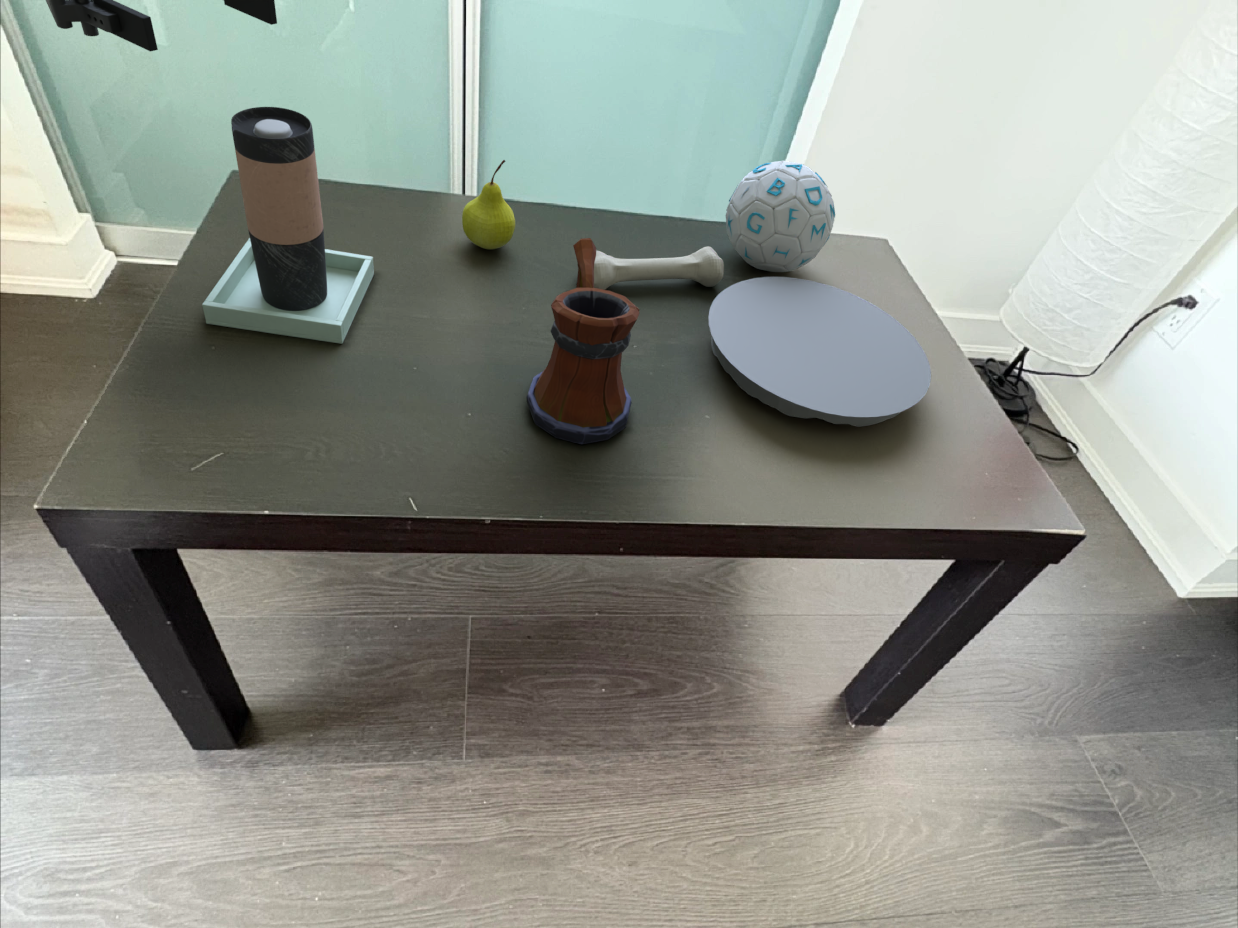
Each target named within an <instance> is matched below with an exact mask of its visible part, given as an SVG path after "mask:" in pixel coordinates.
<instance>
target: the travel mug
mask: <svg viewBox="0 0 1238 928" xmlns="http://www.w3.org/2000/svg"><path fill="white" fill-rule="evenodd" d="M230 119H231V120H230V123H231V134H232V139H233V140H232V141H233V146H234V152H235V158H236V163H237V164H236V165H237V170H238V175H239V182H240V189H241V194H242V201H243V207H244V212H245V213H244V214H245V218H246V226H247V231H248V235H249V238H250V241H251V245H252V250H253V255H254V260H255V264H256V269H257V274H258V279H259V283H260V288H261V292H262V295H263V298H264V300H265V301H266V302H267V303H268V304H269V305H271V306H273V307H275V308H278V309H282V310H287V311H302V310H307V309H311V308H314V307H316V306H318V305H320V304H321V303H322V302H323V301H324V300H325V299H326V296H327V275H326V259H325V249H326V245H325V230H324V219H323V211H322V203H321V193H320V192H321V191H320V183H319V173H318V166H317V159H316V157H317V155H316V148H315V140H314V130H313V125H312V121H311V120H310V119H309V118H308V117H307V116H306V115H304V114H302V113H300V112H299V111H296V110H293V109H289V108H284V107H277V106H256V107H250V108H246V109H243V110H240V111H238V112H236V113H235V114H233V116H232V117H231V118H230Z"/></svg>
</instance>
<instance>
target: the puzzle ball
mask: <svg viewBox="0 0 1238 928" xmlns="http://www.w3.org/2000/svg"><path fill="white" fill-rule="evenodd" d="M834 203H835V201H834V199H833V195H832V193H831V192H830V190H829V187H828V185H827V184H826V181H824V179H823V178H822V177H821V176H820V175H819V174H818V173H817V172H816V171H814V170H812V168H810V167H809V166H807V165H805V164H804V163H799V162H794V161H788V160H777V161H771V162H765V163H763V164H760V165H758V166H757V167H755V168H754V169H752V170H751V171H750V172H748V173H747V174H746V175H745V176H743V178H742V179H741V180H740V181H739V182H738V184H737V186H736V188H735V189H734V190H733V193H732V194H731V196H730V197H729V199H728V204H727V206H726V212H725V227H726V233H727V234H726V235H727V237H728V240H729V242H730V244H731V245H732V248H733V250H735V251H736V253H737V254H738V255H739V256H740V257H741V258H742V259H743V261H744V262H745V263H746V264H748V265H749V266H751V267H754V269H757V270H761V271H767V272H770V273H786V272H787V273H788V272H792V271H794V270H798V269H800V268H801V267H803V266H805V265H807V264H809V263H810V262H812V260H814V259H815V258H816V257H817V255H818V254H819V253H820V252H821V250H823V247H824V246H825V245H826V244H827V242H828V241H829V239H830V236H831V233H832V231H833V228H834V223H835V218H836V210H835V204H834Z"/></svg>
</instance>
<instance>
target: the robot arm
mask: <svg viewBox="0 0 1238 928" xmlns="http://www.w3.org/2000/svg"><path fill="white" fill-rule="evenodd" d="M45 2H46V4H47V7H48V10H49V11H50V13H51V16H52V17H53V20H54V22H55V25H56V26H57V27H58V28H59V29H62V30H63V29H64V30H69V29H72V28H74V24H73V23H80V25H81V29H82V32H83V35H84V36H86V37H98V36H99V35H100V32H99V30H101V31H104V32H106V33H109V34H112V35H114V36H116V37H119V38H120V39H123V40H124V41H127V42H129V43H130V44H131V43H132V44H133V45H135V46H138V47H139V48H141V49H144V50H146V51H148V52H155V51H158V43H157V40H156V36H155V30H154V27H153V22H152V18H151V16H150V15H147V14H145V13H142V12H140V11H138V10H136V9H133V8H132V7H129V6H127V5H125V4H123V3H120V2H118V1H116V0H45ZM223 3H224V5H225V6H227V7H229V8H231V9H234V10H237V12H238V11H239V12H241V13H243V14H246V15H248V16H250V17H252V18H254V19H257V20H259V21H261V22H264V23H265V24H269V25H271V26H272V25H277V24H278V19H277V11H276V2H275V0H223Z"/></svg>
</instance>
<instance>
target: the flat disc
mask: <svg viewBox="0 0 1238 928" xmlns="http://www.w3.org/2000/svg"><path fill="white" fill-rule="evenodd" d="M708 326H709V331H710V334H711V338H710V342H711V343H710V344H711V350H712V353H713V355H714V356H715V357H716V358H717V359H718V361H719V363H720V365H721V366H722V369H723V370H724V371H725V372H726V373H727V374H729V376H730V377H731V378H732V380H733V381H734V382H735V383H736V385H737V386H738V387H739V388H740V389H741V390H743V391H744V392H745V393H746V394H747V395H749V396H751V397H753V398H755V399H758V400H759V401H760V402H761V403H762V404H763V405H764V404H765V405H767V406H768V407H771V408H774V409H776V410H777V411H779V412H780V413H782V414H784V415H785V416H789V417H795V418H799V419H813V418H814V419H815V418H817V419H819V420H824V421H825V422H827V423H830V424H831V423H832V424H833V425H851V426H854V427H856V428H860V427H867V426H873V425H876V424H879V423H882V422H884V421H887V420H890V419H893V418H895V417H896V416H898V415H899V414H901V413H902V412H904V411H906V410H909V409H910V408H911V407H914V406H915V405H917V404H918V403H920V401H921V400H922V399H923V398H924V397H925V395H926V394H927V392H928V390H929V389H930V385H931V381H932V369H931V363H930V361H929V358H928V356H927V354H926V352H925V349H924V348H923V347H922V345H921V344H920V343H919V341H918V340H917V338H916V337H915V336H914V335H913V334H912V333H911V331H909V330H908V328H906V326H904V325H903V324H902V323H901V322H900V321H899V320H897V319H896V318H895V317H893V316H892V315H891V314H890V313H888V312H887V311H885V310H883V308H880V307H879V306H877V305H875V304H874V303H872V302H870V301H869V300H867V299H865V298H862V297H860V296H858V295H856V294H854V293H852V292H850V291H847V290H844V289H841V288H839V287H836V286H832V285H829V284H826V283H822V282H819V281H814V280H810V279H804V278H799V277H789V276H761V277H753V278H749V279H745V280H741V281H738V282H736V283H733V284H731V285H729V286H728V287H726V288H724V289H723V290H722V291H721V292H720V293H718V294H717V295H716V297H715V298H714V299H713V301H712V302H711V305H710V307H709V312H708Z"/></svg>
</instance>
